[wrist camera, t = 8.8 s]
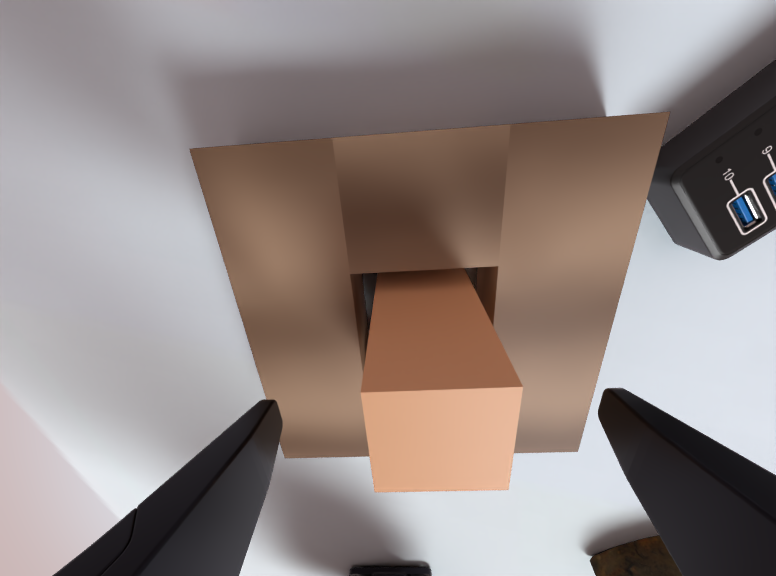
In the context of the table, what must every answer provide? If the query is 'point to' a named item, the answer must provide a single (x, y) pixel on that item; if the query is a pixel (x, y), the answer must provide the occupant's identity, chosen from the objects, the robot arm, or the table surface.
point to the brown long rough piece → (636, 560)
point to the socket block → (432, 256)
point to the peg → (437, 387)
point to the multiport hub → (722, 173)
